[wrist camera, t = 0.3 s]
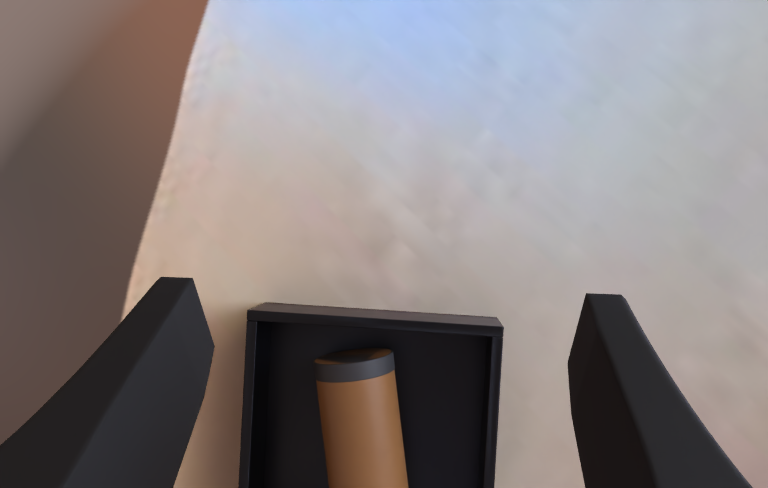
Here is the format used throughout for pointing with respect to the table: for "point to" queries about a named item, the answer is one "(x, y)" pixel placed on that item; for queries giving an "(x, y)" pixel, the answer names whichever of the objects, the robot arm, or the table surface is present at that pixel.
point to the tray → (413, 381)
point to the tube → (361, 419)
